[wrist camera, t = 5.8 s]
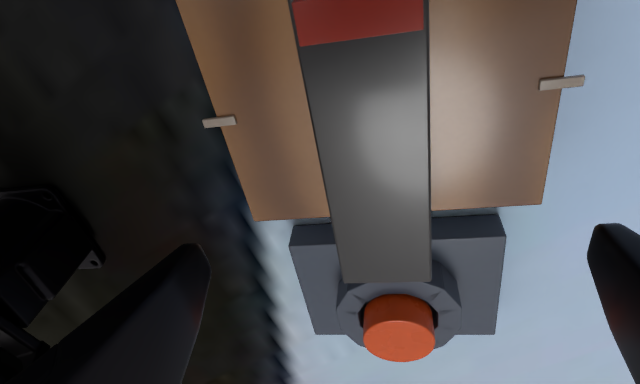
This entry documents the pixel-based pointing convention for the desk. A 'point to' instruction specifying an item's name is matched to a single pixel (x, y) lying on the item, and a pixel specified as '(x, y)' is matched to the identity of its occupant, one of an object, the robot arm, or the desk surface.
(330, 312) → the button housing
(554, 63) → the base
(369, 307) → the power button
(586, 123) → the desk surface
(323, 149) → the box
